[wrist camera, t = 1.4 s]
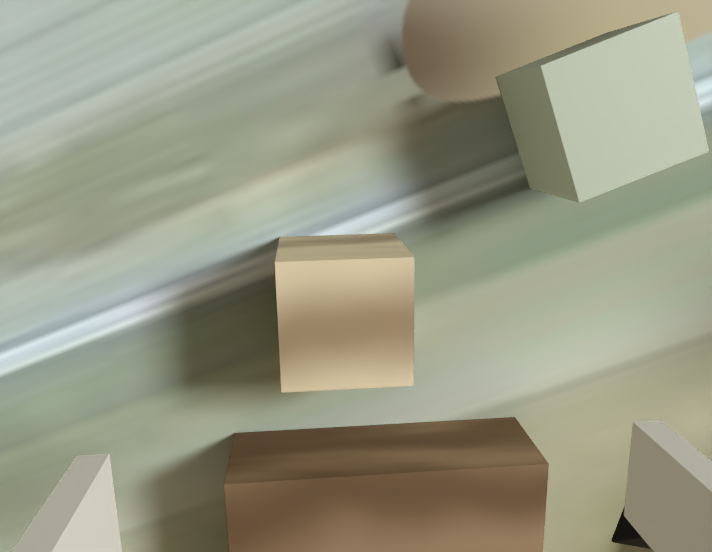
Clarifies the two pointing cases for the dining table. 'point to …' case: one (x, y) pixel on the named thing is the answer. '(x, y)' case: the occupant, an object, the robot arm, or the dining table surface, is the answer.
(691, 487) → the robot arm
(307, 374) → the maple cube
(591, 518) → the dining table surface
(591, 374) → the dining table surface
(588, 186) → the sage cube
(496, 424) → the walnut block
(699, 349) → the dining table surface
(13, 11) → the dining table surface
